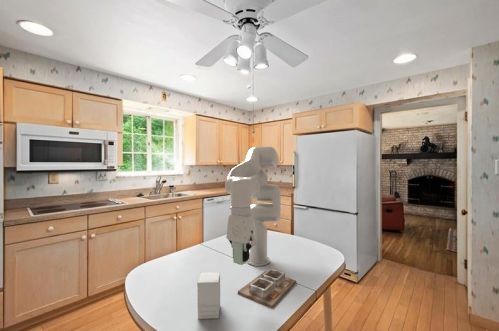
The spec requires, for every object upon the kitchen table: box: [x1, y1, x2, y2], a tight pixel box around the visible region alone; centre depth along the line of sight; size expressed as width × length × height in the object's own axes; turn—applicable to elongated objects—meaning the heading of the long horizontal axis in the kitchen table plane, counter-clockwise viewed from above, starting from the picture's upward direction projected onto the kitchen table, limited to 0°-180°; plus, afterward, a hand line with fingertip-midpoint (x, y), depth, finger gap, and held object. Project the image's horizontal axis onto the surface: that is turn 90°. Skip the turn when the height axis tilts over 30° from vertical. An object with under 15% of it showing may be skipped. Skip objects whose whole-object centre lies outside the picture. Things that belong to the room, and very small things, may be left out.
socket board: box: [237, 268, 297, 309], centre depth 96 cm, size 16×22×4 cm
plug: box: [232, 241, 248, 266], centre depth 85 cm, size 4×4×8 cm
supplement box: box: [196, 271, 221, 320], centre depth 80 cm, size 7×7×13 cm
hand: (240, 258), depth 85 cm, fingers closed on plug, 4 cm apart
